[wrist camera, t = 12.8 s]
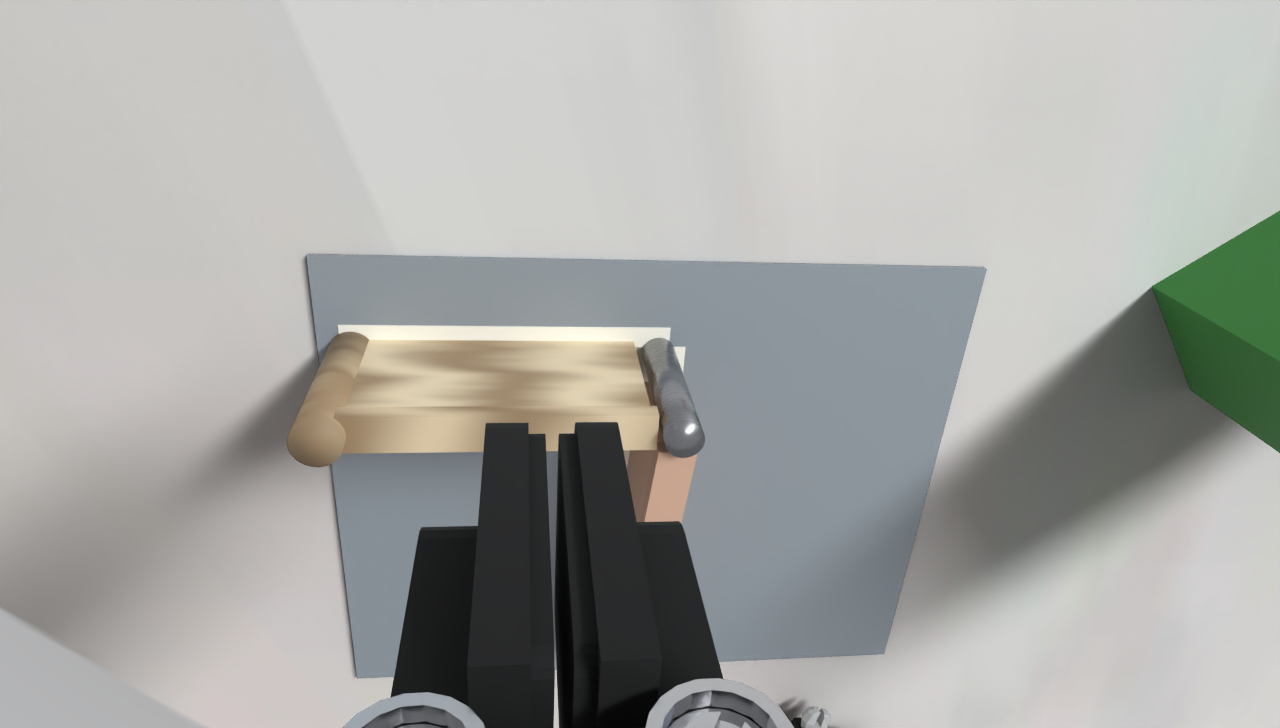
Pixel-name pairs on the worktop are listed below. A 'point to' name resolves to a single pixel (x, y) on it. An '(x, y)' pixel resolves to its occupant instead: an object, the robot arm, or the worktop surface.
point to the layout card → (728, 412)
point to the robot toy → (812, 718)
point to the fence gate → (659, 481)
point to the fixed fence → (488, 395)
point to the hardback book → (1231, 327)
